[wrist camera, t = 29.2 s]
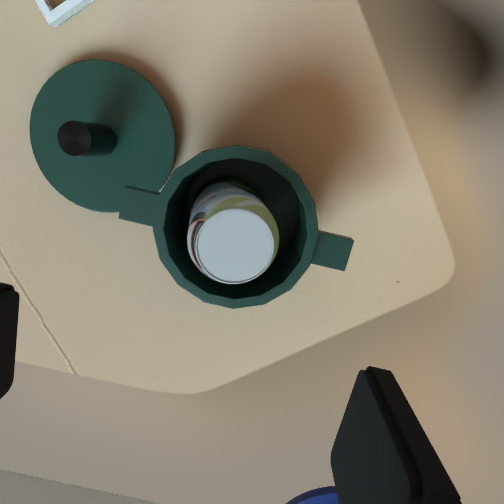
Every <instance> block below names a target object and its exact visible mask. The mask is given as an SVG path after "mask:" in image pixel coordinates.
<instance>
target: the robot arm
mask: <svg viewBox="0 0 504 504" xmlns="http://www.w3.org/2000/svg"><path fill="white" fill-rule="evenodd" d="M18 311H19V293H18V292H16V291H15V290H14V287H13V286H12V285H9V284H5V283H0V399H1V398H2V397H3V396H4V395H5V394H6V393H7V392H8V390H9V389H10V387H11V385H12V382H13V378H14V365H15V352H16V338H17V325H18ZM331 467H332V472H333V477H334V482H335V487H336V492H337V497H338V502H339V504H462V503H461V501H460V499H461V498H460V496H459V494H458V492H457V490H456V488H455V487H454V485H453V483H452V481H451V479H450V477H449V476H448V474H447V472H446V470H445V468H444V466H443V465H442V463H441V461H440V459H439V457H438V456H437V454H436V452H435V450H434V448H433V446H432V445H431V443H430V441H429V439H428V437H427V436H426V434H425V432H424V430H423V428H422V427H421V425H420V423H419V421H418V419H417V417H416V416H415V414H414V412H413V410H412V408H411V406H410V405H409V403H408V401H407V399H406V398H405V396H404V394H403V392H402V390H401V388H400V386H399V385H398V383H397V381H396V380H395V377H394V375H393V374H392V372H391V371H389V370H385V369H380V368H376V367H371V366H369V367H367V369H366V370H360V371H359V374H358V376H357V379H356V381H355V384H354V387H353V390H352V393H351V396H350V399H349V401H348V404H347V407H346V410H345V413H344V416H343V419H342V422H341V425H340V428H339V431H338V433H337V436H336V439H335V442H334V445H333V448H332V452H331ZM0 504H160V503H155V502H150V501H146V500H141V499H136V498H131V497H127V496H122V495H118V494H113V493H108V492H103V491H99V490H94V489H90V488H84V487H80V486H76V485H71V484H66V483H62V482H57V481H52V480H48V479H43V478H39V477H34V476H29V475H25V474H20V473H15V472H11V471H6V470H1V469H0Z"/></svg>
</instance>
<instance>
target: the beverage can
mask: <svg viewBox="0 0 504 504" xmlns="http://www.w3.org/2000/svg"><path fill="white" fill-rule="evenodd" d="M187 246H188V251H189V254H190V257H191V259H192V261H193V262H194V264H195V266H196V267H197V268H198V269H199V270H200V271H201V272H202V273H203V274H204V275H206V276H207V277H209V278H211V279H213V280H215V281H218V282H221V283H226V284H239V283H245V282H248V281H250V280H253V279H254V278H256V277H258V276H259V275H261V274H262V273H263V272H265V270H266V269H267V268H268V267H269V266H270V265H271V263H272V262H273V260H274V258H275V256H276V253H277V250H278V246H279V232H278V228H277V224H276V222H275V220H274V218H273V216H272V214H271V213H270V212H269V210H268V209H267V207H266V206H265V205H264V203H263V202H262V201H261V199H260V198H259V196H258V195H257V194H256V192H255V191H254V190H253V188H252V187H251V186H250V185H248V184H247V183H246V182H244V181H243V180H240V179H238V178H234V177H218V178H215V179H212V180H210V181H208V182H207V183H205V184H204V185H203V186H202V187H201V188H200V189H199V190H198V192H197V193H196V195H195V197H194V200H193V204H192V210H191V216H190V222H189V228H188V234H187Z"/></svg>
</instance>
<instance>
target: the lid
mask: <svg viewBox="0 0 504 504" xmlns="http://www.w3.org/2000/svg"><path fill="white" fill-rule="evenodd" d="M30 139H31V145H32V149H33V153H34V156H35V159H36V161H37V163H38V165H39V167H40V169H41V171H42V173H43V174H44V176H45V177H46V179H47V180H48V181H49V182H50V184H51V185H52V186H53V187H54V188H55V189H56V190H57V191H58V192H59V193H60V194H61V195H63V196H64V197H65V198H67V199H68V200H70V201H72V202H73V203H75V204H77V205H79V206H81V207H84V208H86V209H90V210H93V211H99V212H111V213H112V212H120V206H121V199H122V192H123V187H124V186H128V185H129V186H133V187H138V188H142V189H146V190H150V191H155V192H158V191H159V190H160V189H161V188H162V186H163V185H164V184H165V182H166V180H167V178H168V177H169V175H170V172H171V170H172V167H173V163H174V159H175V153H176V135H175V128H174V124H173V120H172V117H171V114H170V112H169V109H168V107H167V105H166V104H165V102H164V100H163V98H162V97H161V96H160V94H159V93H158V91H157V90H156V89H155V88H154V87H153V86H152V85H151V84H150V83H149V82H148V81H147V80H146V79H145V78H143V77H142V76H141V75H139V74H138V73H136V72H135V71H133V70H132V69H130V68H127V67H125V66H123V65H121V64H118V63H114V62H111V61H105V60H85V61H80V62H76V63H73V64H71V65H68V66H66V67H64V68H62V69H61V70H59V71H58V72H56V73H55V74H54V75H53V76H52V77H50V78H49V79H48V81H47V82H46V83H45V84H44V85H43V87H42V88H41V90H40V91H39V93H38V95H37V97H36V99H35V102H34V104H33V108H32V112H31V118H30Z"/></svg>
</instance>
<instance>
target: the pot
mask: <svg viewBox="0 0 504 504" xmlns="http://www.w3.org/2000/svg"><path fill="white" fill-rule="evenodd" d="M218 177H234V178H238V179H240V180H243V181H244V182H246V183H247V184H248V185H250V186H251V187H252V188H253V190H254V191H255V192H256V194H257V195H258V196H259V198H260V199H261V201H262V202H263V203H264V205H265V206H266V207H267V209H268V210H269V212H270V213H271V214H272V216H273V218H274V220H275V222H276V224H277V228H278V232H279V246H278V250H277V253H276V256H275V258H274V260H273V262H272V263H271V265H270V266H269V267H268V268H267V269H266V270H265V272H263V273H262V274H261V275H259V276H258V277H256V278H254V279H253V280H250V281H248V282H245V283H239V284H226V283H221V282H218V281H215V280H213V279H211V278H209V277H207V276H206V275H204V274H203V273H202V272H201V271H200V270H199V269H198V268H197V267H196V266H195V264H194V262H193V261H192V259H191V257H190V254H189V251H188V246H187V234H188V228H189V222H190V216H191V210H192V204H193V200H194V197H195V195H196V193H197V192H198V190H199V189H200V188H201V187H202V186H203V185H204V184H205V183H207V182H208V181H210V180H212V179H215V178H218ZM119 219H122V220H126V221H131V222H135V223H139V224H144V225H148V226H152V227H153V232H154V237H155V241H156V245H157V249H158V253H159V258H160V260H161V262H162V263H163V264H164V266H165V267H166V269H167V270H168V271H169V273H170V274H171V276H172V277H173V279H174V280H175V281H176V283H177V284H178V285H179V286H181V287H182V288H184V289H185V290H187V291H188V292H190V293H191V294H193V295H194V296H196V297H197V298H199V299H200V300H202V301H203V302H206V303H210V304H215V305H219V306H224V307H228V308H232V309H234V308H242V307H249V306H256V305H263V304H266V303H268V302H269V301H271V300H273V299H275V298H276V297H278V296H280V295H282V294H284V293H285V292H287V291H289V290H290V289H292V288H293V286H294V285H295V284H296V283H297V281H298V280H299V279H300V278H301V276H302V275H303V274H304V272H305V271H306V270H307V269H308V267H309V266H310V264H311V263H312V264H316V265H320V266H325V267H329V268H333V269H337V270H342V271H345V268H346V265H347V262H348V259H349V255H350V252H351V249H352V246H353V242H354V240H353V239H352V238H350V237H346V236H342V235H338V234H333V233H329V232H325V231H321V230H318V223H317V215H316V207H315V203H314V200H313V198H312V197H311V195H310V193H309V192H308V190H307V188H306V186H305V185H304V183H303V181H302V180H301V178H300V176H299V174H297V172H296V171H294V170H293V169H292V168H291V167H290V166H289V165H287V164H286V163H285V162H283V161H282V160H281V159H279V158H278V157H277V156H275V155H274V154H273V153H271V152H269V151H266V150H262V149H258V148H253V147H249V146H245V145H235V146H229V147H223V148H218V149H212V150H206V151H203V152H201V153H200V154H198V155H197V156H195V157H193V158H192V159H190V160H189V161H187V162H186V163H184V164H183V165H181V166H180V167H178V168H177V169H176V170H175V171H174V172H173V174H172V176H171V177H170V179H169V180H168V182H167V183H166V185H165V186H164V188H163V190H162V191H161V193H159V192H155V191H150V190H146V189H142V188H138V187H133V186H129V185H128V186H124V187H123V192H122V199H121V206H120V213H119Z"/></svg>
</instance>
